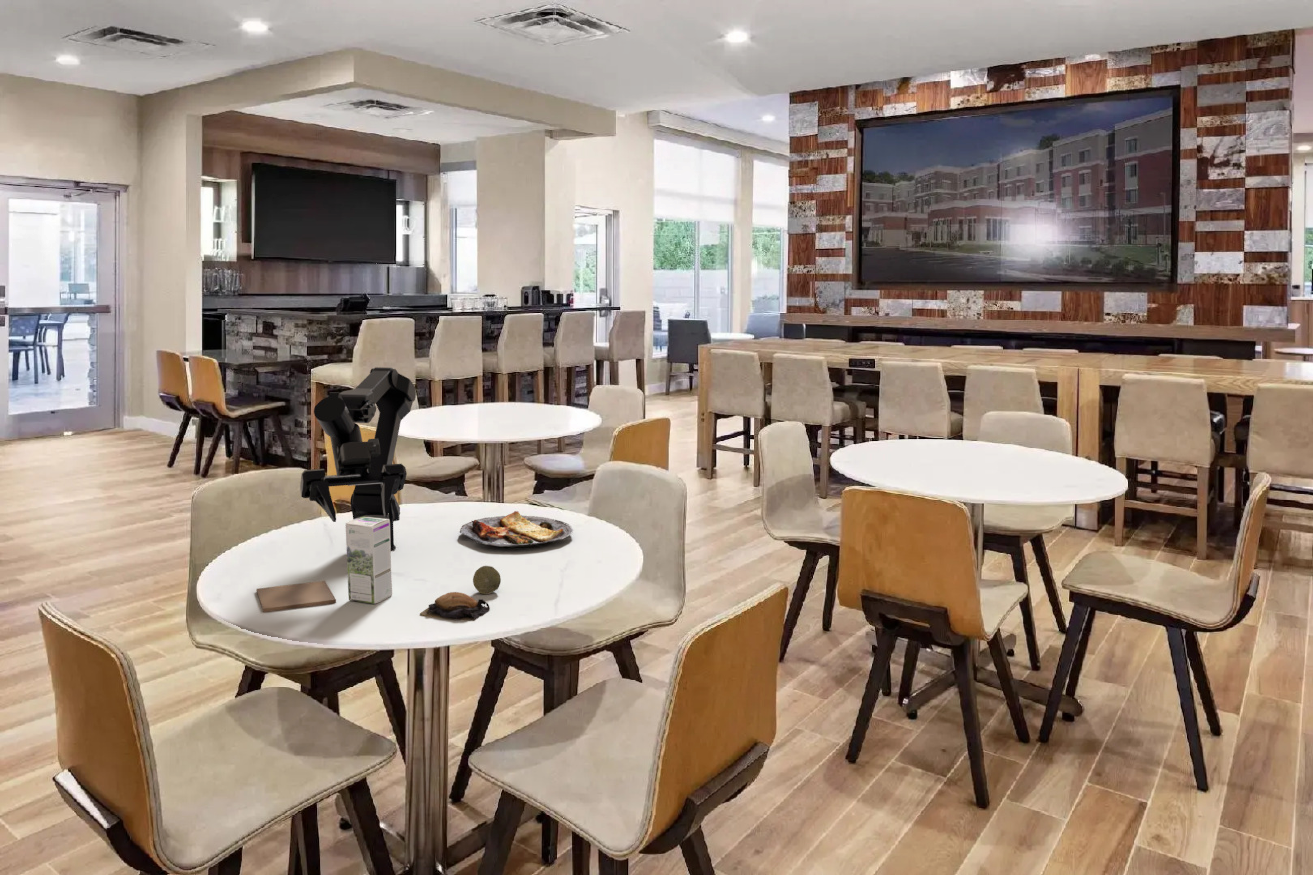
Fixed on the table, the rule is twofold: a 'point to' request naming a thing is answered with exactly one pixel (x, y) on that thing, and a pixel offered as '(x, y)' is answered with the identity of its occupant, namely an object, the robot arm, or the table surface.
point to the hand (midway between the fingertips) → (360, 518)
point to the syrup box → (368, 559)
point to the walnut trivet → (295, 596)
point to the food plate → (516, 530)
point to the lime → (486, 579)
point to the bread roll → (456, 607)
